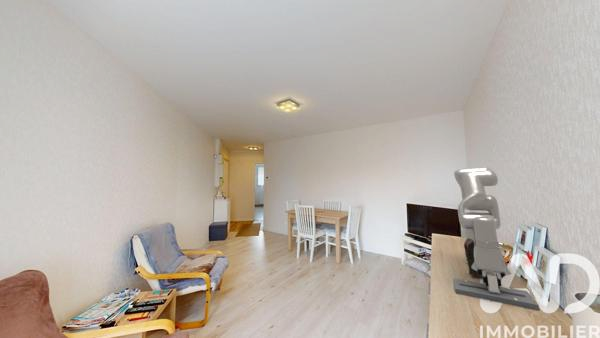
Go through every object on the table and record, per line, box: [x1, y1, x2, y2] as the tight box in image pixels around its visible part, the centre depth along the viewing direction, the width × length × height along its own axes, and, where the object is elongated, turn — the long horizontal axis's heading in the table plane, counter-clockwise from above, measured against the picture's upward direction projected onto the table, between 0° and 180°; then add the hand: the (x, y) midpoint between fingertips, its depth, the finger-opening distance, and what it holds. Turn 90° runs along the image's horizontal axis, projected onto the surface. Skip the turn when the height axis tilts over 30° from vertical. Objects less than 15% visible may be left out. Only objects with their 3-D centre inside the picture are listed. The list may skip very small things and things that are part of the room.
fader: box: [486, 271, 500, 294], centre depth 89 cm, size 4×7×7 cm, turn 145°
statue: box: [463, 238, 483, 279], centre depth 108 cm, size 7×7×20 cm
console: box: [453, 277, 540, 311], centre depth 90 cm, size 26×12×2 cm, turn 55°
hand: (492, 285), depth 89 cm, fingers closed on fader, 3 cm apart
